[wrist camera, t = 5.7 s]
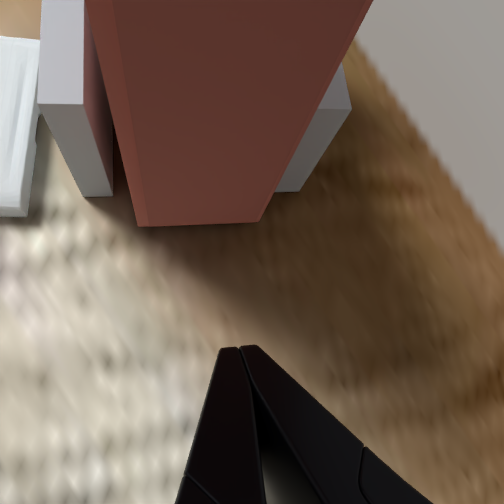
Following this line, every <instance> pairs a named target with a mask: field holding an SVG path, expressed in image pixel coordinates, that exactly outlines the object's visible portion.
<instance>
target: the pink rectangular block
mask: <svg viewBox="0 0 504 504" xmlns="http://www.w3.org/2000/svg"><path fill="white" fill-rule="evenodd" d="M372 2H373V0H85V3H86V8H87V12H88V16H89V20H90V25H91V29H92V33H93V37H94V42H95V46H96V50H97V54H98V59H99V63H100V67H101V71H102V76H103V80H104V84H105V88H106V93H107V97H108V101H109V105H110V110H111V114H112V118H113V122H114V127H115V131H116V135H117V139H118V144H119V148H120V152H121V156H122V161H123V165H124V169H125V173H126V178H127V182H128V186H129V190H130V195H131V199H132V203H133V207H134V212H135V216H136V220H137V224H138V227H143V226H149V227H150V226H175V225H200V224H225V223H250V222H259V221H260V219H261V217H262V215H263V213H264V211H265V209H266V207H267V205H268V203H269V201H270V199H271V197H272V195H273V193H274V192H275V190H276V188H277V186H278V184H279V182H280V180H281V178H282V176H283V174H284V172H285V170H286V168H287V166H288V164H289V162H290V161H291V159H292V157H293V155H294V153H295V151H296V149H297V147H298V145H299V143H300V141H301V139H302V137H303V135H304V133H305V132H306V130H307V128H308V126H309V124H310V122H311V120H312V118H313V116H314V114H315V112H316V110H317V108H318V106H319V104H320V102H321V101H322V99H323V97H324V95H325V93H326V91H327V89H328V87H329V85H330V83H331V81H332V79H333V77H334V75H335V73H336V71H337V70H338V68H339V66H340V64H341V62H342V60H343V58H344V56H345V54H346V52H347V50H348V48H349V46H350V44H351V42H352V40H353V39H354V37H355V35H356V33H357V31H358V29H359V26H360V25H361V23H362V21H363V19H364V17H365V15H366V13H367V11H368V10H369V8H370V6H371V4H372Z"/></svg>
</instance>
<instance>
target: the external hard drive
mask: <svg viewBox="0 0 504 504" xmlns="http://www.w3.org/2000/svg"><path fill="white" fill-rule="evenodd" d="M39 52H40V40H34V39H25V38H12V37H4V36H0V217H27V216H28V208H29V200H30V193H31V185H32V178H33V171H34V164H35V156H36V148H37V144H36V142H35V135H36V128H37V121H38V117H39V116H41V110H40V108H39V106H38V104H37V94H38V73H39Z"/></svg>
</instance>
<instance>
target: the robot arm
mask: <svg viewBox="0 0 504 504" xmlns="http://www.w3.org/2000/svg"><path fill="white" fill-rule="evenodd" d="M175 504H433V503H432V502H430V501H429V500H428V499H427V498H425V497H424V496H423V495H422V494H421V493H419V492H418V491H417V490H416V489H414V488H413V487H412V486H411V485H409V484H408V483H407V482H406V481H404V480H403V479H402V478H401V477H400V476H399V475H398V474H396V473H395V472H394V471H393V470H392V469H391V468H390V467H389V466H387V465H386V464H385V463H384V462H383V461H382V460H381V459H380V458H378V457H377V456H376V455H375V454H374V453H373V452H372V451H371V450H370V449H369V448H368V447H364V444H363V443H362V442H361V441H360V440H359V439H358V438H357V437H356V436H355V435H353V434H352V433H351V432H350V431H349V430H348V429H347V428H346V427H345V426H344V425H343V424H342V423H341V422H339V421H338V420H337V419H336V418H335V417H334V416H333V415H332V414H331V413H330V412H329V411H328V410H327V409H325V408H324V407H323V406H322V405H321V404H320V403H319V402H318V401H317V400H316V399H315V398H314V397H313V396H312V395H310V394H309V393H308V392H307V391H306V390H305V389H304V388H303V387H302V386H301V385H300V384H299V383H298V382H296V381H295V380H294V379H293V378H292V377H291V376H290V375H289V374H288V373H287V372H286V371H285V370H284V369H282V368H281V367H280V366H279V365H278V364H277V363H276V362H275V361H274V360H273V359H272V358H271V357H270V356H268V355H267V354H266V353H265V352H264V351H263V350H262V349H261V348H260V347H259V346H257V345H246V346H240V347H239V349H238V348H237V347H226V348H221V349H220V350H219V352H218V356H217V359H216V363H215V366H214V370H213V373H212V377H211V380H210V384H209V387H208V391H207V394H206V398H205V401H204V405H203V408H202V412H201V415H200V419H199V422H198V426H197V429H196V433H195V436H194V440H193V443H192V447H191V450H190V454H189V457H188V461H187V464H186V468H185V471H184V477H183V478H182V480H181V484H180V487H179V491H178V494H177V498H176V501H175Z"/></svg>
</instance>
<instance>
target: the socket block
mask: <svg viewBox="0 0 504 504" xmlns="http://www.w3.org/2000/svg"><path fill="white" fill-rule="evenodd" d="M37 104H38V106H39V108H40V110H41V113H42V115H43V117H44V119H45V121H46V123H47V125H48V127H49V129H50V131H51V133H52V135H53V137H54V139H55V141H56V143H57V145H58V147H59V149H60V151H61V153H62V155H63V157H64V159H65V161H66V163H67V165H68V167H69V169H70V171H71V173H72V176H73V178H74V180H75V182H76V184H77V186H78V188H79V190H80V192H81V194H82V196H83V197H101V196H113V144H112V114H111V110H110V105H109V101H108V97H107V93H106V88H105V84H104V80H103V76H102V71H101V67H100V63H99V59H98V54H97V50H96V46H95V42H94V37H93V33H92V29H91V25H90V20H89V16H88V12H87V8H86V3H85V0H42V10H41V31H40V52H39V73H38V94H37ZM351 110H352V107H351V103H350V98H349V93H348V89H347V84H346V79H345V75H344V70H343V66H342V62H341V64H340V66H339V68H338V70H337V71H336V73H335V75H334V77H333V79H332V81H331V83H330V85H329V87H328V89H327V91H326V93H325V95H324V97H323V99H322V101H321V102H320V104H319V106H318V108H317V110H316V112H315V114H314V116H313V118H312V120H311V122H310V124H309V126H308V128H307V130H306V132H305V133H304V135H303V137H302V139H301V141H300V143H299V145H298V147H297V149H296V151H295V153H294V155H293V157H292V159H291V161H290V162H289V164H288V166H287V168H286V170H285V172H284V174H283V176H282V178H281V180H280V182H279V184H278V186H277V188H276V190H275V192H299V191H300V189H301V188H302V186H303V185H304V183H305V181H306V180H307V178H308V177H309V175H310V174H311V172H312V171H313V169H314V167H315V166H316V164H317V163H318V161H319V160H320V158H321V157H322V155H323V154H324V152H325V150H326V149H327V147H328V146H329V144H330V143H331V141H332V140H333V138H334V136H335V135H336V133H337V132H338V130H339V129H340V127H341V126H342V124H343V122H344V121H345V119H346V118H347V116H348V115H349V113H350V112H351Z"/></svg>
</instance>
